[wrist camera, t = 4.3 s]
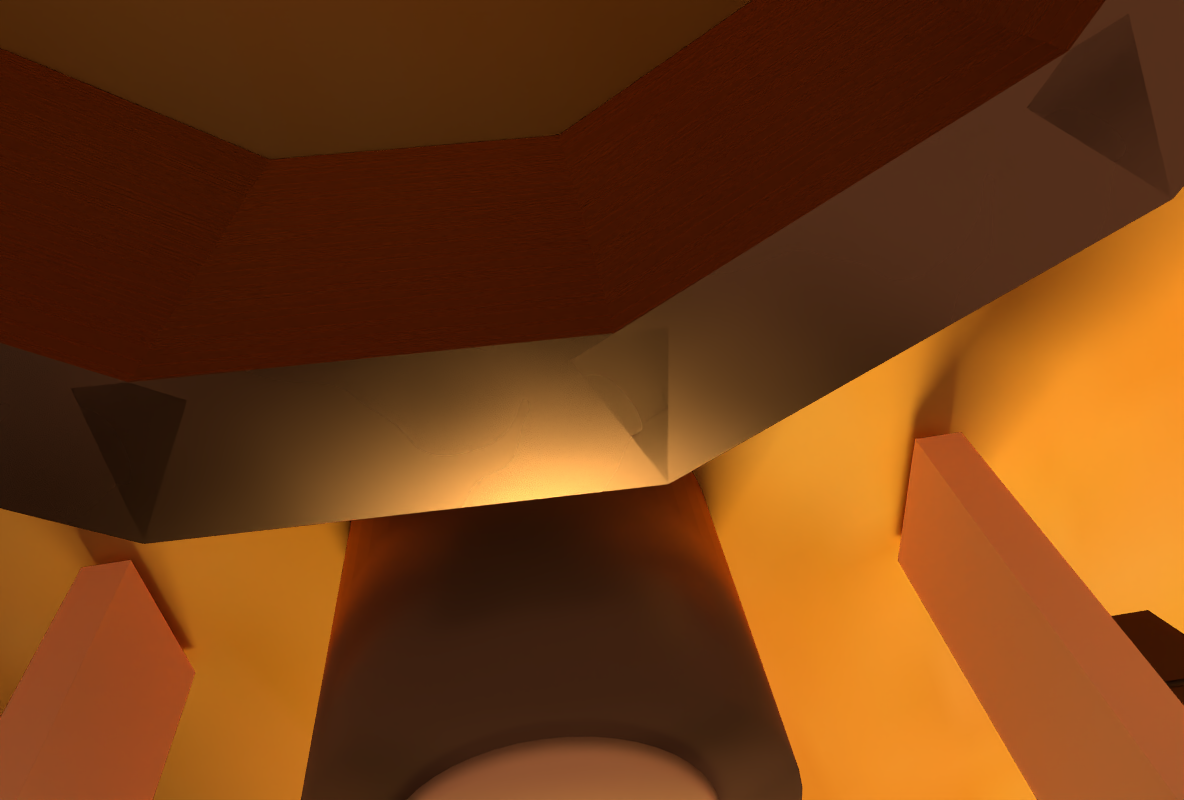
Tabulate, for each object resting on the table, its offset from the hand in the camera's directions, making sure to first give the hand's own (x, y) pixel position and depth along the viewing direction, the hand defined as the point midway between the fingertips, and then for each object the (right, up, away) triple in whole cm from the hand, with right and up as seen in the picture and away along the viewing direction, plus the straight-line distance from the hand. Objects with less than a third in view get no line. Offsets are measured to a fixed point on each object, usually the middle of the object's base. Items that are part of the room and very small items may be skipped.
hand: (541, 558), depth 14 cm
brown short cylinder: (0, 0, 0) cm, 0 cm away
